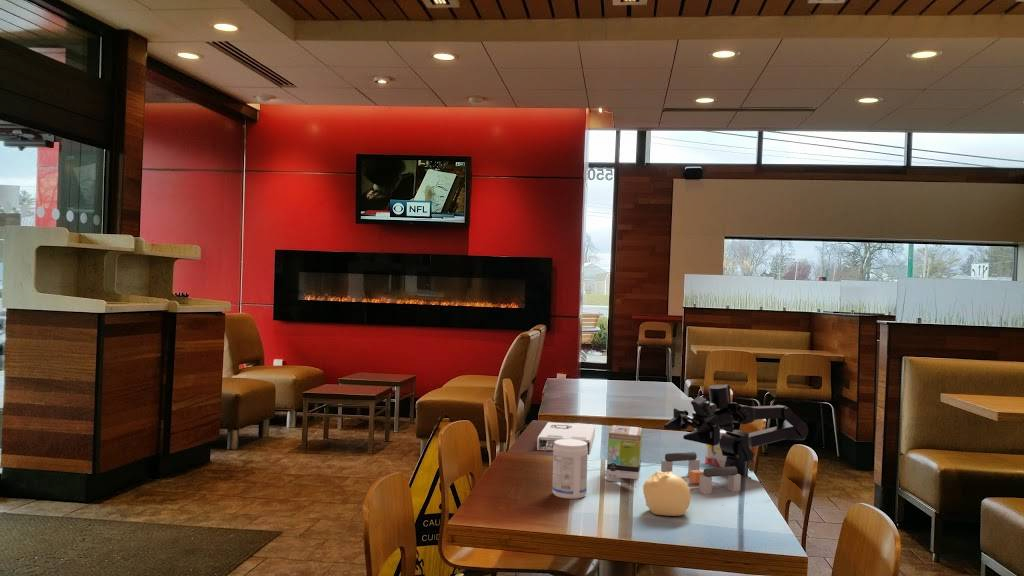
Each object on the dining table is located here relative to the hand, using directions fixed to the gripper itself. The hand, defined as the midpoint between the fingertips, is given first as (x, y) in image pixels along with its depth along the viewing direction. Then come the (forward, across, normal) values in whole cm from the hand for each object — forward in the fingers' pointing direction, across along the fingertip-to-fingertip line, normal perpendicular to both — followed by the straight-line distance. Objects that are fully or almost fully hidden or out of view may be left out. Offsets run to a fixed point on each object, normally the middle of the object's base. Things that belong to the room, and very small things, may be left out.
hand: (673, 432), depth 220 cm
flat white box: (+4, -58, +25) cm, 64 cm away
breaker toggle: (-2, +8, +14) cm, 16 cm away
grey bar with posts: (-2, +18, +14) cm, 22 cm away
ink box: (-28, -11, +23) cm, 38 cm away
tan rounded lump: (+23, +25, +8) cm, 35 cm away
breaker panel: (+1, +8, +15) cm, 17 cm away
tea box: (+12, -10, +16) cm, 22 cm away
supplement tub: (+38, +2, +9) cm, 39 cm away
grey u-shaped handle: (-3, -1, +17) cm, 17 cm away
